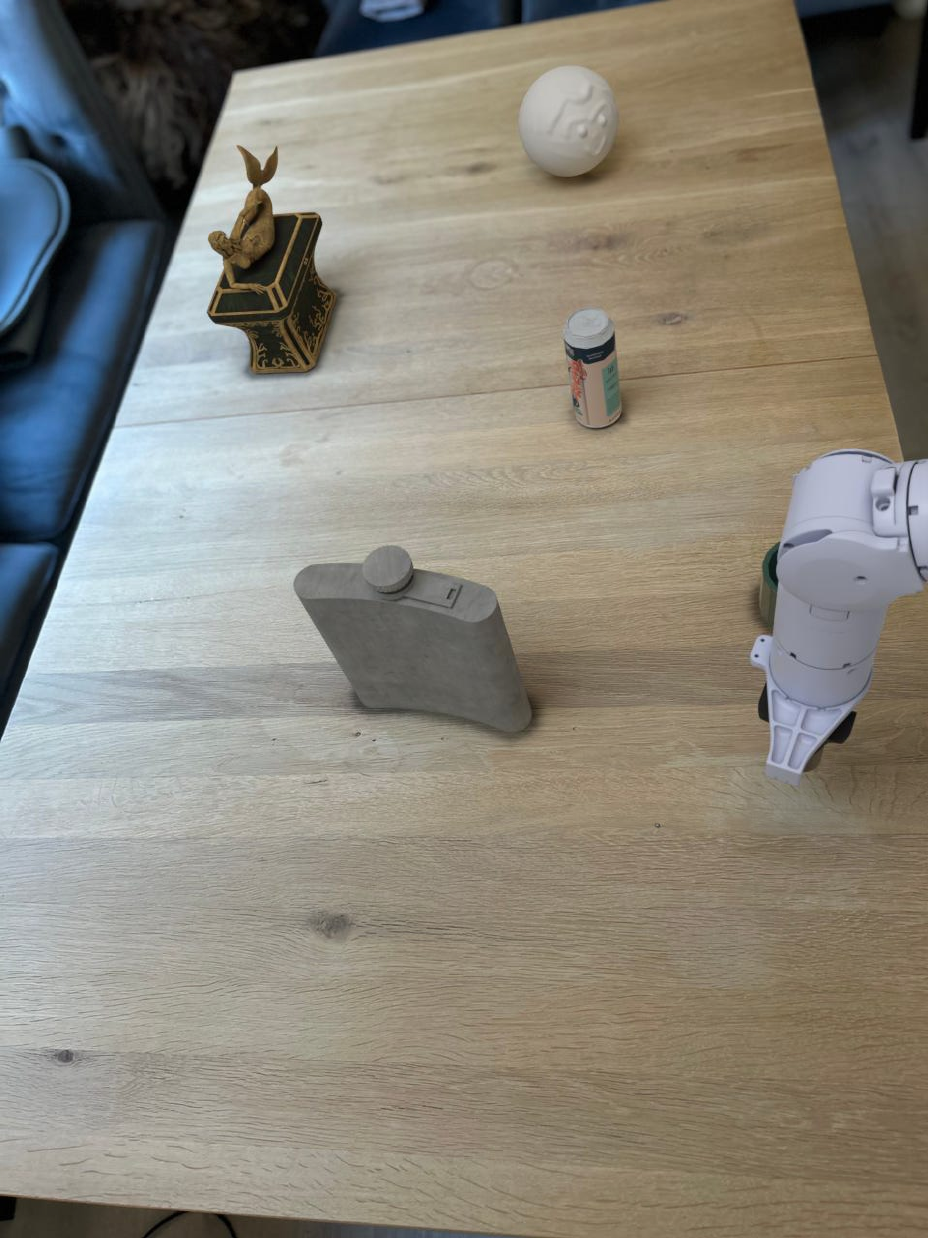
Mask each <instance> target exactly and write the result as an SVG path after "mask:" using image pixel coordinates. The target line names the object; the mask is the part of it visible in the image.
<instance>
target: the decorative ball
mask: <svg viewBox="0 0 928 1238" xmlns="http://www.w3.org/2000/svg"><path fill="white" fill-rule="evenodd" d="M619 117H620V116H619V106H618V103H617V99H616V96H615V93H614V91H613V89H612V87H611V85H610V84H609V83H608V81H607V80H606V79H605V78H604V76H602V75H600V74H599V73H597V72H596V71H594V70H592V69H590V68H588V67H584V66H580V65H571V64H569V65H561V66H558V67H554V68H552V69H550V70H548V71H546V72H545V73H543V74H542V75H540V76H539V77H538V78H537V79H536V80H535V81H534V82H533V83H532V85H530V87H529V88H528V89H527V92H526V93H525V95H524V97H523V100H522V102H521V105H520V108H519V112H518V123H517V124H518V134H519V139H520V142H521V145H522V148H523V150H524V152H525V154H526V155H527V156H528V158H529V159H530V161H531V162H532V163H533V164H534V165H535V166H536V167H537V168H538V169H540V170H542V171H544V172H545V173H547V174H550V175H553V176H557V177H562V178H571V177H576V176H580V175H583V174H585V173H588V172H590V171H591V170H593V169H595V168H596V167H598V166H599V164H600V163H602V162H603V160H604V159H605V158H606V157H607V155H608V154H609V152H610V151H611V149H612V147H613V145H614V143H615V141H616V137H617V134H618V129H619V123H620V122H619Z"/></svg>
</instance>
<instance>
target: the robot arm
mask: <svg viewBox="0 0 928 1238" xmlns="http://www.w3.org/2000/svg"><path fill="white" fill-rule="evenodd" d="M791 485H792V491H791V496H790V500H789V504H788V510H787V512H786V516H785V521H784V526H783V530H782V534H781V539H780V541H781V542H780V546H779V551H778V555H777V561H778V563H777V567H776V574H777V577H778V580H779V582H778V591H777V600H776V609H775V618H774V628H773V629H772V636H771V635H767V634H761V635H758V636H757V637H756V639H755V641H754V644H753V646H752V648H751V652H750V654H749V655H750V656H749V663H750V664H751V666H753V667H754V668H757V669H760V670H763V672H764V673H765V678H766V679H765V683H764V685H763V689H762V691H761V693H760V696H759V699H758V703H757V714H758V718H759V719H760V720H761V721H764V722H766V723H767V724H768V725H769V727H768V728H769V751H768V755H767V758H766V762H765V770H764V776H765V777H767V778H770V779H772V780H775V781H778V782H781V783H784V784H787V785H790V786H794V787H796V788H798V787H800V783H801V780H802V778H803V775H804V772H803V770H804V768H805V766H806V764H807V762H808V761H809V759H810V758H811V756H812V755H814V754H816V753H817V752H819V751H820V750H821V749H822V748H823V747H824V748H825V746H826V745H828V744H838V745H841V744H844V743H845V742H846V741H847V739H848V738H849V737H850V736H851V733H852V731H853V727H854V724H855V721H856V718H857V714H858V712H857V711H854V709H855V708H856V707H857V706H858V705H859V703H861V701H862V700H863V699H864V697H865V696H866V695H867V693H868V691H869V689H870V687H871V684H872V680H873V676H874V660H875V658H876V657H875V656H876V654H877V649H878V647H879V643H880V639H881V635H882V631H883V628H884V624H885V620H886V618H887V613H888V610H889V606H890V604H892V603H893V602H895V601H896V600H897V599H899V598H901V597H905V596H912V595H913V596H914V595H918V593H919V592H923V591H924V590H925V586H926V585H927V582H928V458H922V459H921V458H920V459H914V460H907V461H900V462H895V461H894V460H892V459H891V458H890V457H888V456H886V455H884V454H882V453H879V452H876V451H872V450H868V449H860V448H842V449H836V450H832V451H828V452H826V453H824V454H822V455H820V456H818V457H817V458H816V459H815V460H813V461H811V463H810V464H809V467H808V466H806V465H805V466H804V467H803V468H802V469H801V470H800V471H799V472H797V473H795V474H793V476H792V484H791Z"/></svg>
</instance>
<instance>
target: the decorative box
mask: <svg viewBox="0 0 928 1238" xmlns="http://www.w3.org/2000/svg"><path fill="white" fill-rule="evenodd" d="M236 148H237V150H238V151H239V152H240V154H241V156H242V158H243V161H244V165H245V171H246V177H247V180H248V182H249V183H250V184H252V189H251V190H250V191H249V192H248V193H247V195H246V198H245V202H244V207H243V208H242V209H241V211H239V212H238V216H237V218H236V220H235V222H234V225H233V228H232V229H231V231H230V234H229V236H228V235H227V233H225V232H224V231H222V230H216V231H212V232H210V233H209V234H208V237H207V241H208V243H209V245H210V247H211V249H212V250H213V251H214V252H216V253H217V254H219V256H222V266H223V269H222V272H221V273H220V276H219V278H218V281H217V283H216V286H215V288H214V291H213V294H212V296H211V299H210V300H209V304H208V307H207V309H206V314H207V316H208V318H209V319H210V320H211V322H212V323H214V324H215V325H219V326H225V327H231V328H235V329H238V330H241V331H242V332H243V333H244V334H245V336H246V337H247V340H248V342H249V365H248V366H249V370H251V371H252V372H253V373H254V374H271V373H272V374H274V373H275V374H277V373H302V372H308V371H310V370H311V369H313V368H314V367H316V366H317V365H316V364H317V362H318V359H319V355H320V352H321V350H322V347H323V343H324V340H325V337H326V334H327V331H328V327H329V325H330V321H331V318H332V315H333V312H334V310H335V307H336V303H337V300H338V293H336V292H335V291H334V290H333V289H332V288H331V287H329V286H328V285H327V284H326V283H324V281H323V280H322V279H321V277H320V275H319V273H318V271H317V269H316V263H315V254H316V253H315V252H316V247H317V243H318V240H319V237H320V234H321V232H322V228H323V220H322V217H321V215H320V214H318V213H317V212H315V211H303V212H302V211H300V212H299V211H298V212H287V213H286V212H285V213H274V211H273V202H272V199H271V198H270V195H269V194H268V192H267V191H266V190H265V189H263V188H262V186H263V185H264V184H265V185H266V184H268V183H269V182H271V180H272V179H273V178H274V176H275V175H276V173H277V169H278V164H279V150H278V149H279V148H278V146H277V145H275V147H274V150H273V152H272V153H271V154H270V155H269V156H268V158H267V159H266V160H265V163H264V167H263V169H262V165H261V162H260V160H259V159H258V158H257V157H256V156H255V155H254V154H252V153H251V152H250V151H249V150H247V149H246V148H244V147H243V146H242V145H239V144H237V145H236Z"/></svg>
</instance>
